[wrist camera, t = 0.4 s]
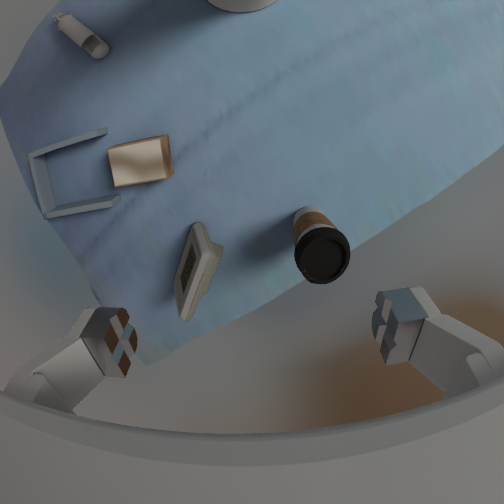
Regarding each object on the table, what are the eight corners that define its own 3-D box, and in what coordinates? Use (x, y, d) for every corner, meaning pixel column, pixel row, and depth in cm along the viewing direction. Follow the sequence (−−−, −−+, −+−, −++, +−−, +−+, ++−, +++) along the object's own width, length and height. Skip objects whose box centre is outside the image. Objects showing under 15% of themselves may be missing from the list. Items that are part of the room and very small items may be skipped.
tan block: (119, 143, 47) (106, 148, 42) (169, 133, 46) (160, 137, 42) (125, 179, 50) (114, 188, 45) (175, 171, 49) (167, 179, 45)
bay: (39, 149, 46) (27, 153, 42) (106, 127, 45) (96, 129, 42) (54, 212, 53) (44, 219, 49) (121, 199, 52) (112, 206, 48)
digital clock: (198, 214, 53) (186, 240, 44) (239, 239, 56) (236, 269, 46) (162, 275, 60) (147, 307, 51) (198, 296, 62) (190, 329, 53)
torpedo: (118, 45, 38) (101, 40, 32) (101, 65, 39) (83, 62, 34) (68, 7, 32) (50, 1, 26) (53, 25, 33) (35, 21, 28)
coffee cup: (277, 229, 55) (285, 272, 41) (301, 191, 51) (318, 223, 38) (315, 248, 56) (331, 294, 43) (339, 212, 53) (365, 251, 40)
